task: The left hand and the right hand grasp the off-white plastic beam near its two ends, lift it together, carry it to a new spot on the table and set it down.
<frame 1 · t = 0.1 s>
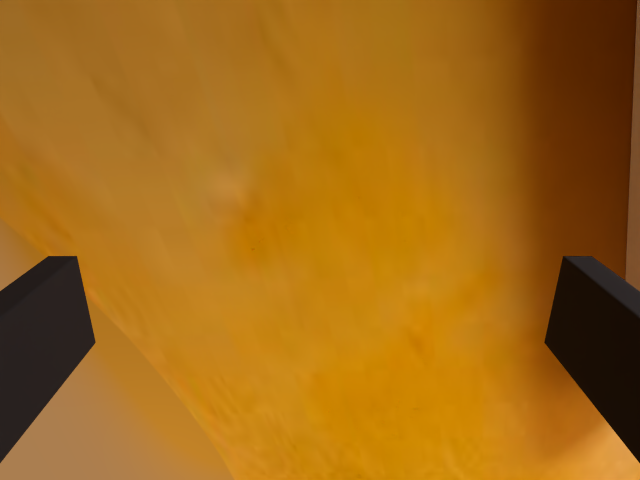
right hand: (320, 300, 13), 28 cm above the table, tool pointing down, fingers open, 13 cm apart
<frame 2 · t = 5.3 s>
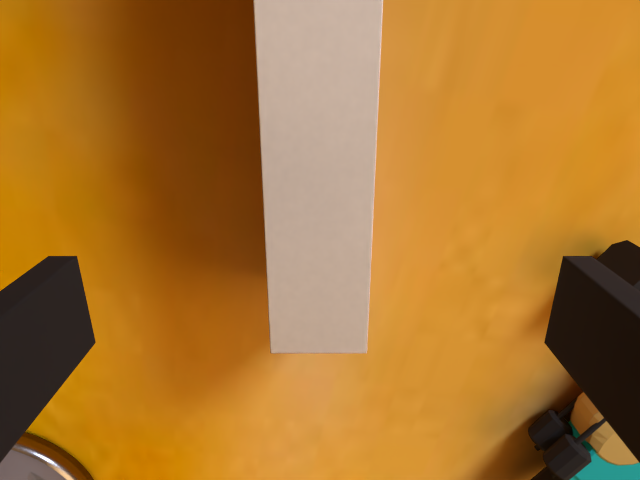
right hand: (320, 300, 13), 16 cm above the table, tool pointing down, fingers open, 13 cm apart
toy gun 2: (594, 378, 33), on the table
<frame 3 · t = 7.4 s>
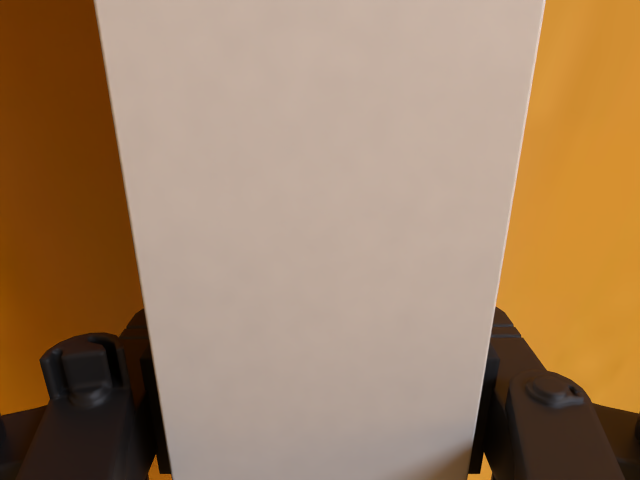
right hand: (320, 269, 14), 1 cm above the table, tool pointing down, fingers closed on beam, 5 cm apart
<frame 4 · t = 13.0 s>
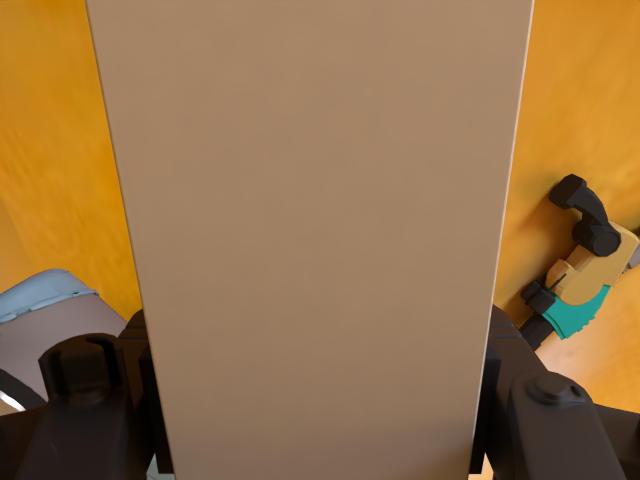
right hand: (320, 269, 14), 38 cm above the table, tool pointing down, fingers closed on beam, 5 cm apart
toy gun 2: (559, 260, 56), on the table
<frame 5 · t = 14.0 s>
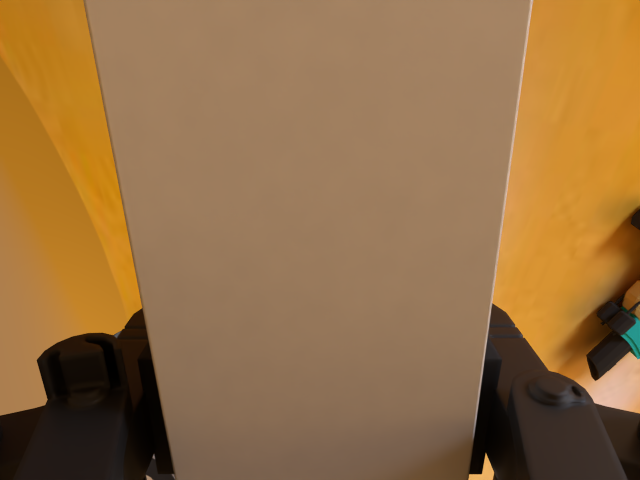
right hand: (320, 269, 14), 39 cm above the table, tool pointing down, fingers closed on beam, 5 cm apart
toy gun 2: (635, 281, 57), on the table
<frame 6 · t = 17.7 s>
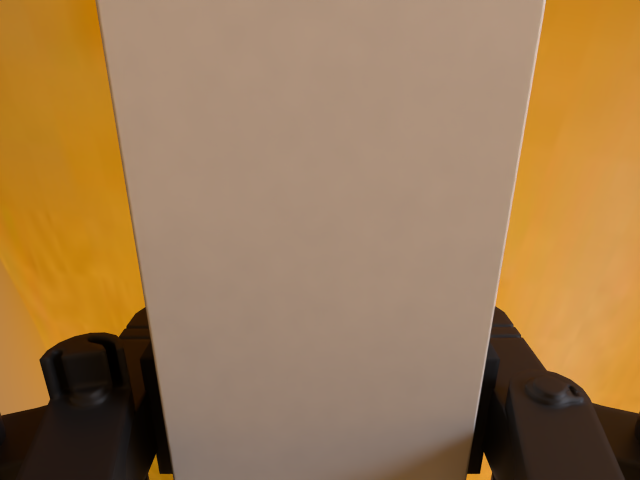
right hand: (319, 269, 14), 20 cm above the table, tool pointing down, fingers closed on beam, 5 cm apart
when the left hand's fingers open (2 cm above the table, at t = 20.9 s): beam drops 1 cm, on the table.
when the right hand's fingers open (2 cm above the table, at t = 20.9 s): beam drops 1 cm, on the table.
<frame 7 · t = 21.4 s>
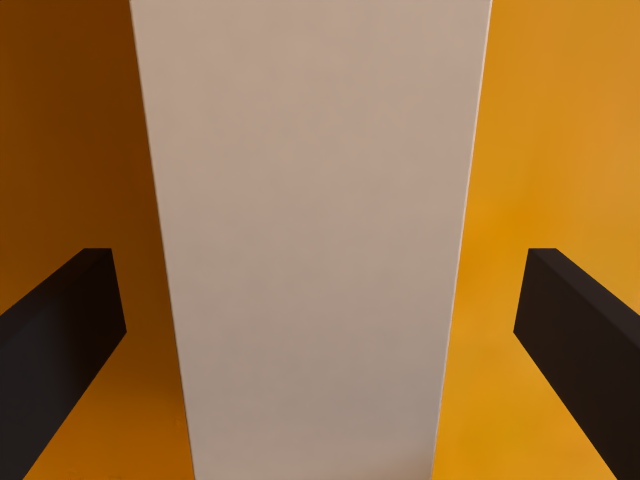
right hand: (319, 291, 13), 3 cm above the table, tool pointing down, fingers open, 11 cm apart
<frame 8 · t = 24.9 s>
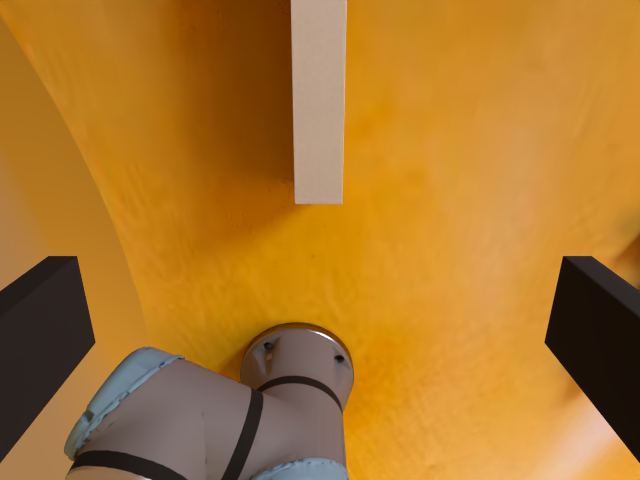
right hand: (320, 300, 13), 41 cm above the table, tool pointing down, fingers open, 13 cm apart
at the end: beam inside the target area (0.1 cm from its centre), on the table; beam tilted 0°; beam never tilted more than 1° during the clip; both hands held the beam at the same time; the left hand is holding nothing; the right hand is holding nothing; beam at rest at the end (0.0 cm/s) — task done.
